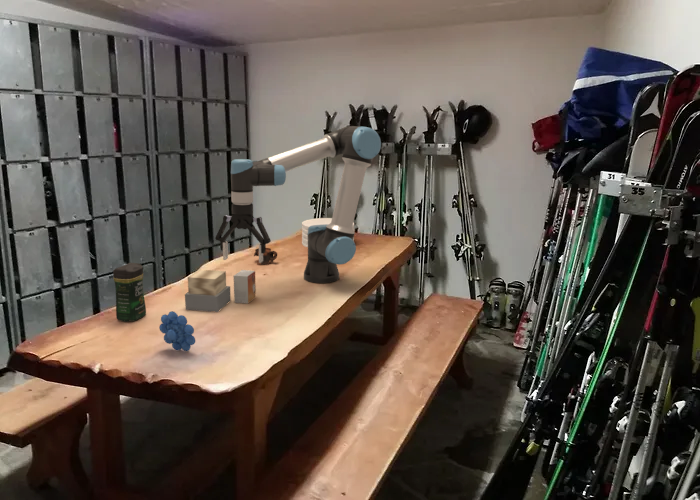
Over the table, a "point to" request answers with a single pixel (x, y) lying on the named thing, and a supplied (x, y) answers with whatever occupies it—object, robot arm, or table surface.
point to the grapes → (177, 331)
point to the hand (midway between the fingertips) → (243, 260)
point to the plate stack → (311, 222)
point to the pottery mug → (266, 256)
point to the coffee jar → (129, 292)
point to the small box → (244, 286)
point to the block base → (207, 301)
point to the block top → (207, 282)
